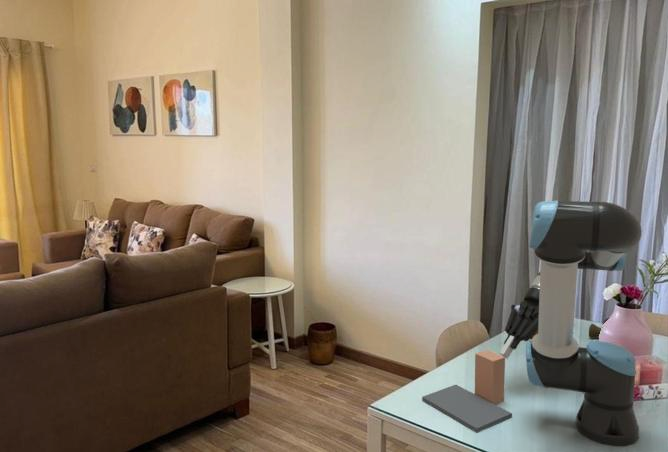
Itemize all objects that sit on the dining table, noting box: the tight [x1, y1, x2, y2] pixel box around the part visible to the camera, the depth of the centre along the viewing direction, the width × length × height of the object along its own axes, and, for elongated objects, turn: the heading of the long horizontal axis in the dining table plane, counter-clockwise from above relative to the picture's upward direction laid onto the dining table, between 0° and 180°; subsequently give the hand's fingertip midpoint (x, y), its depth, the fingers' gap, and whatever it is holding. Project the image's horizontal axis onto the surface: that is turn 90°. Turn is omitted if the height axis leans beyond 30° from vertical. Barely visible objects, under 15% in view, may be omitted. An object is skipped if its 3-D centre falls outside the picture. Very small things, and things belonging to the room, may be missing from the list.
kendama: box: [588, 317, 610, 339], centre depth 211 cm, size 6×10×20 cm
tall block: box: [474, 349, 506, 405], centre depth 164 cm, size 7×5×14 cm
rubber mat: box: [421, 384, 513, 433], centre depth 160 cm, size 22×14×1 cm, turn 32°
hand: (503, 355), depth 167 cm, fingers closed
